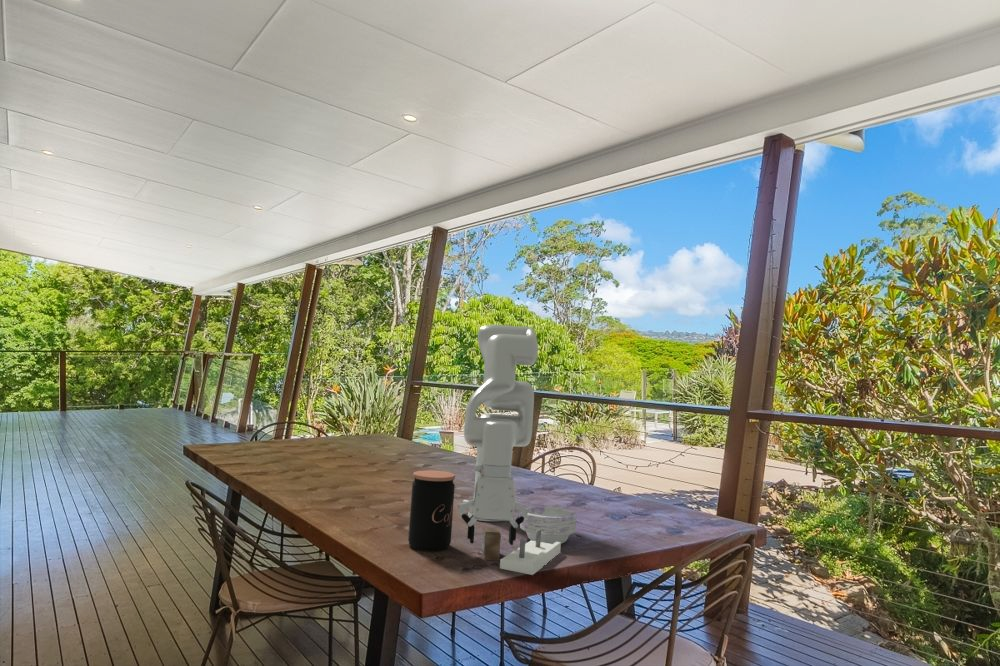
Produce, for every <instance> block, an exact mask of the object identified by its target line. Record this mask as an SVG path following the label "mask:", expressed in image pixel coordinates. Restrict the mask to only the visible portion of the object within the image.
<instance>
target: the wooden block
mask: <svg viewBox="0 0 1000 666" xmlns="http://www.w3.org/2000/svg"><path fill="white" fill-rule="evenodd" d="M482 530H483V531H482V542H481V552H482V556H483V559H484V561H485V560H486V561H488V560H489V561H500V553H501V540H502V539H501V533H500V530H499V528H498V527H495V526H493V527H492V526H491V527H490V526H483V529H482Z"/></svg>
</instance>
